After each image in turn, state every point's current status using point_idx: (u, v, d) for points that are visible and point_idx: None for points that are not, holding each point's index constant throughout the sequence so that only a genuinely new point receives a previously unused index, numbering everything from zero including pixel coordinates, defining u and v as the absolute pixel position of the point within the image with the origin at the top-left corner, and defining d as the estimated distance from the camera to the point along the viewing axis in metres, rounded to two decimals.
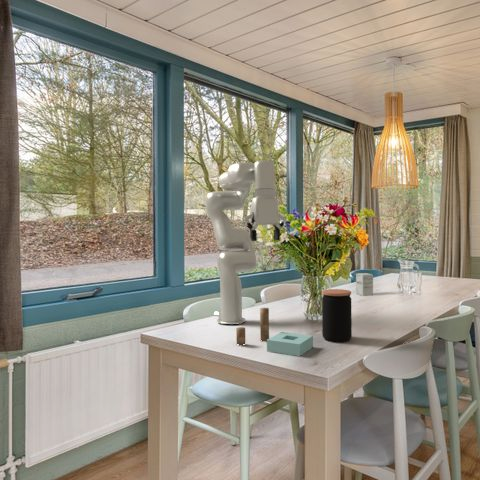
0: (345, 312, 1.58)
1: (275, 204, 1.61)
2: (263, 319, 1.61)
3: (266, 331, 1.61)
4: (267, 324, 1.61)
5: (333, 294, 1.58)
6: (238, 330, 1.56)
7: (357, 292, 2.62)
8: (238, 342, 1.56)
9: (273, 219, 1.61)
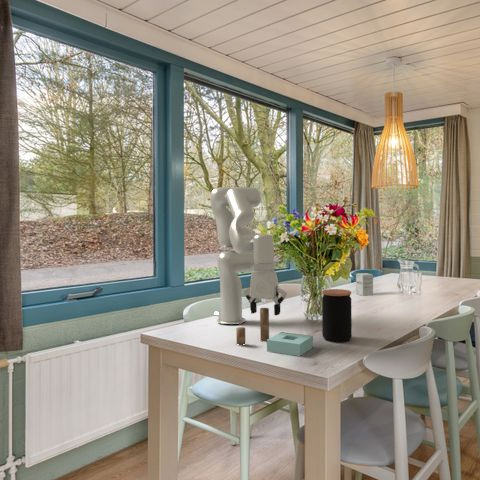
0: (345, 312, 1.58)
1: None
2: (263, 319, 1.61)
3: (266, 331, 1.61)
4: (267, 324, 1.61)
5: (333, 294, 1.58)
6: (238, 330, 1.56)
7: (357, 292, 2.62)
8: (238, 342, 1.56)
9: None
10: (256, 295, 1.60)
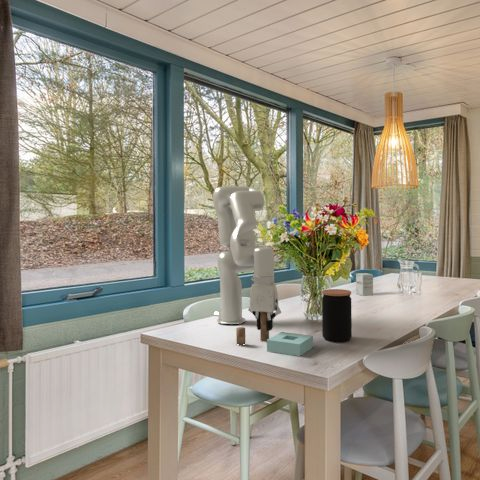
0: (345, 312, 1.58)
1: None
2: (263, 319, 1.61)
3: (266, 331, 1.61)
4: None
5: (333, 294, 1.58)
6: (238, 330, 1.56)
7: (357, 292, 2.62)
8: (238, 342, 1.56)
9: None
10: (256, 308, 1.61)
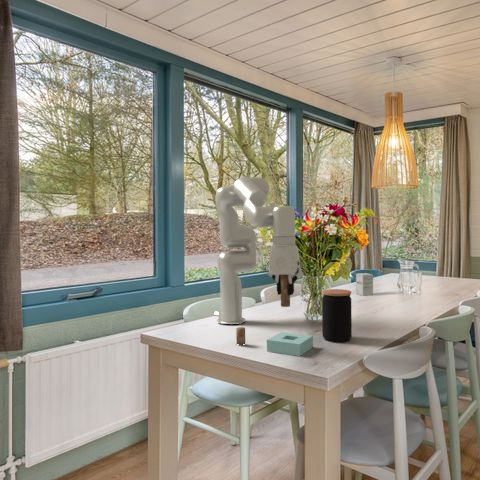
0: (345, 312, 1.58)
1: None
2: (283, 282, 1.50)
3: (287, 295, 1.50)
4: None
5: (333, 294, 1.58)
6: (238, 330, 1.56)
7: (357, 292, 2.62)
8: (238, 342, 1.56)
9: None
10: (276, 271, 1.50)
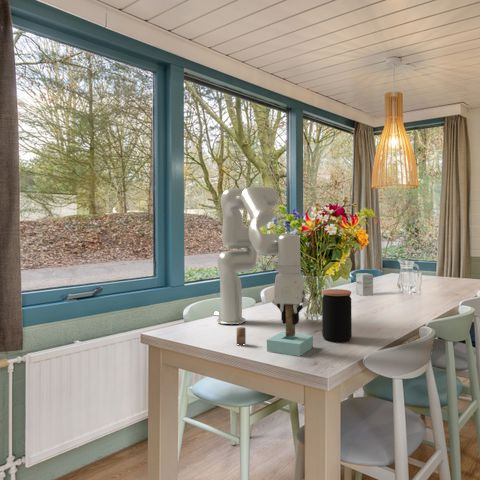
0: (345, 312, 1.58)
1: None
2: (288, 311, 1.49)
3: (292, 325, 1.49)
4: None
5: (333, 294, 1.58)
6: (238, 330, 1.56)
7: (357, 292, 2.62)
8: (238, 342, 1.56)
9: None
10: (281, 300, 1.49)
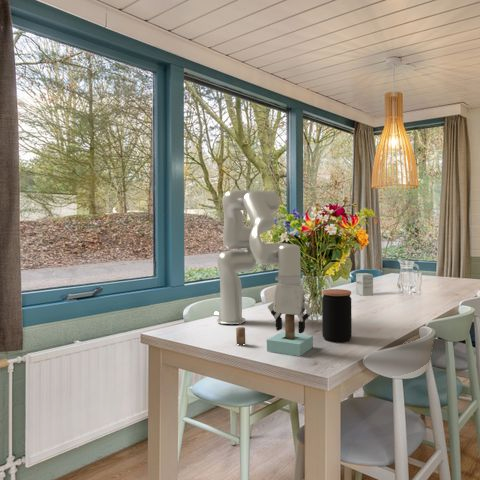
0: (345, 312, 1.58)
1: None
2: (288, 326, 1.49)
3: (292, 339, 1.49)
4: (293, 332, 1.49)
5: (333, 294, 1.58)
6: (238, 330, 1.56)
7: (357, 292, 2.62)
8: (238, 342, 1.56)
9: None
10: (281, 310, 1.49)
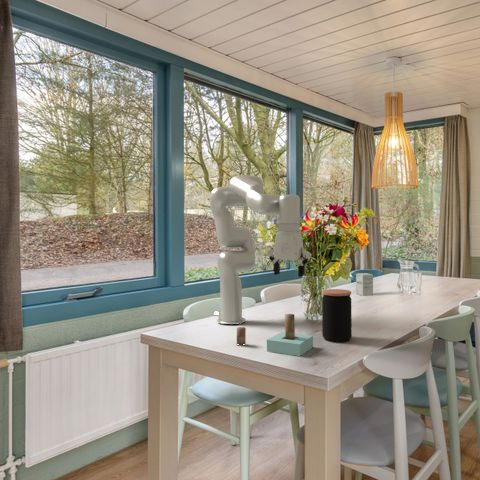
0: (345, 312, 1.58)
1: None
2: (288, 326, 1.49)
3: (292, 339, 1.49)
4: (293, 332, 1.49)
5: (333, 294, 1.58)
6: (239, 330, 1.56)
7: (357, 292, 2.62)
8: (238, 342, 1.56)
9: None
10: (280, 256, 1.58)
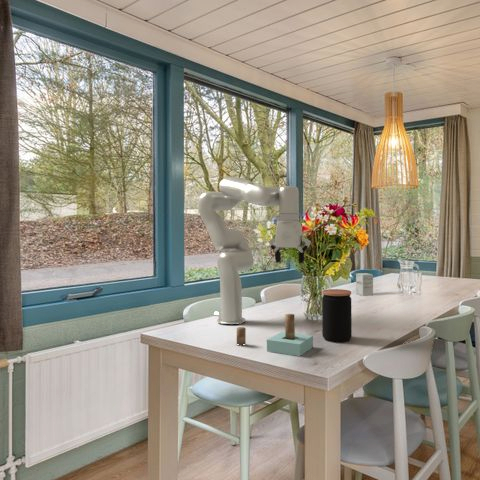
0: (345, 312, 1.58)
1: None
2: (288, 326, 1.49)
3: (292, 339, 1.49)
4: (293, 332, 1.49)
5: (333, 294, 1.58)
6: (239, 330, 1.56)
7: (357, 292, 2.62)
8: (238, 342, 1.56)
9: None
10: (281, 244, 1.68)
